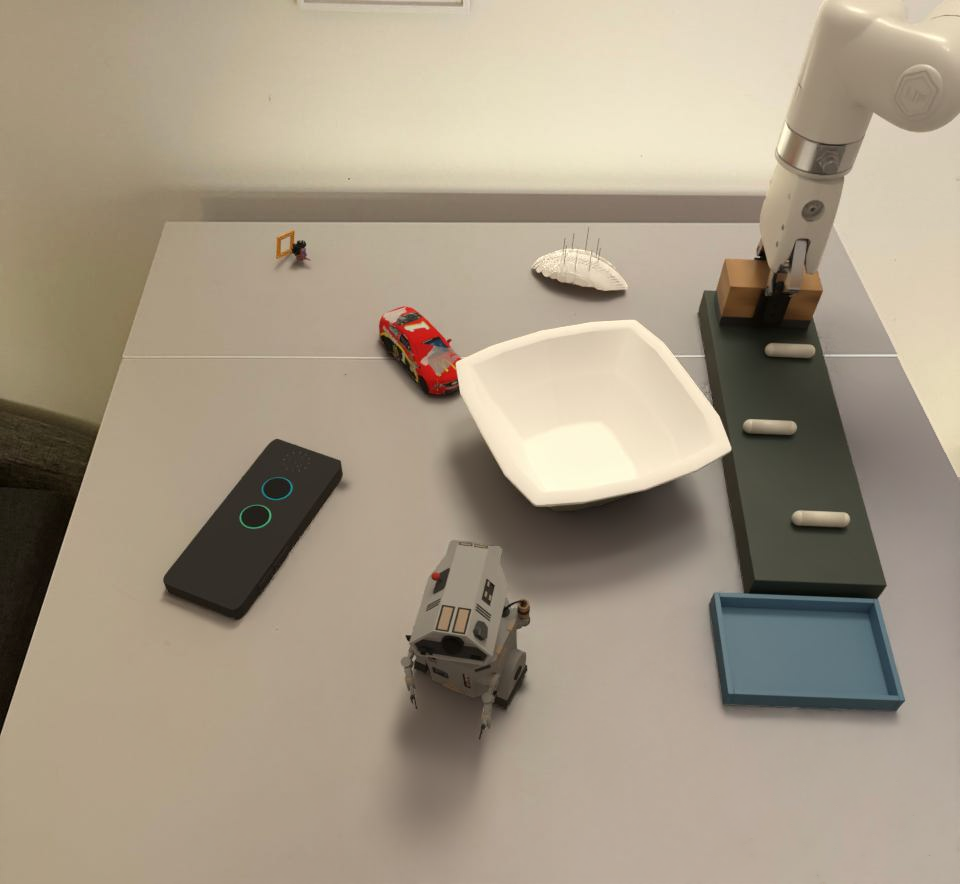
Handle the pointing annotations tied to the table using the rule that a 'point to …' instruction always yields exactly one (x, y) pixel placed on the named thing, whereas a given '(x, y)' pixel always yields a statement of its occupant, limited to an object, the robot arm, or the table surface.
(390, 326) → the race car
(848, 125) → the robot arm
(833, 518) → the chalk
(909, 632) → the table surface
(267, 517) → the smart home device
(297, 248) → the toy figure with frame
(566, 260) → the pincushion
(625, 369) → the bowl
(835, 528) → the board
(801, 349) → the chalk
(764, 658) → the tray
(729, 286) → the eraser
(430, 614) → the figurine
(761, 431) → the chalk
